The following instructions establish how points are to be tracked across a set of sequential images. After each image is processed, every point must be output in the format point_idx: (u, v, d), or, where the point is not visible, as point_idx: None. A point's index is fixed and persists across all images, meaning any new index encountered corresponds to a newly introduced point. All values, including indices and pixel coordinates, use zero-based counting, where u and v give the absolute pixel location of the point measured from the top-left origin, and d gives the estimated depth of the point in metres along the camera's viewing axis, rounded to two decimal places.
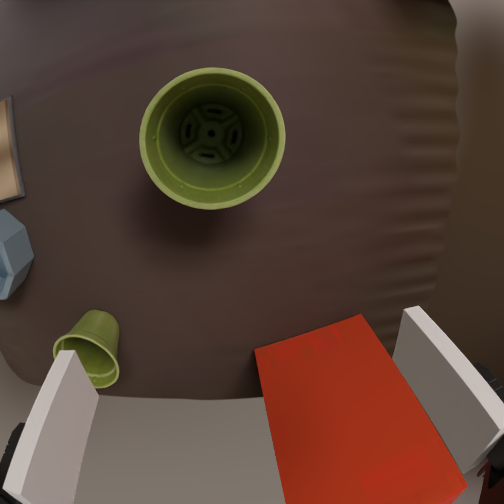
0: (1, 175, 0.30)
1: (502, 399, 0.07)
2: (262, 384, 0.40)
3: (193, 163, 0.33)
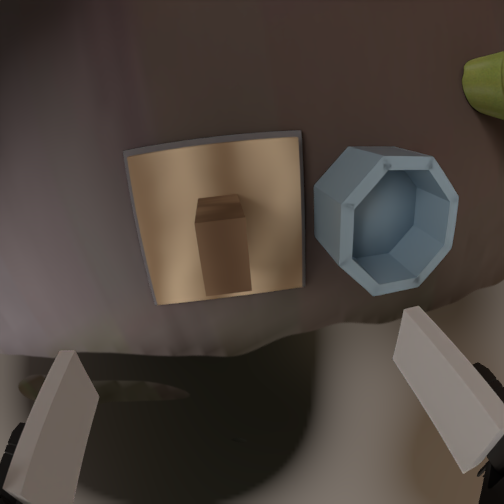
0: (258, 170, 0.23)
1: (502, 399, 0.07)
2: None
3: None
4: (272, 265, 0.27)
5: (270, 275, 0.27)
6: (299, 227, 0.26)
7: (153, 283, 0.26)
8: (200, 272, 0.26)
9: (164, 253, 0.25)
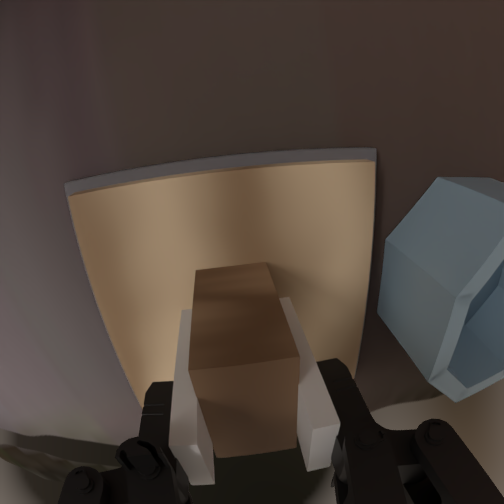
0: (306, 219, 0.13)
1: (349, 400, 0.08)
2: None
3: None
4: None
5: None
6: (362, 308, 0.15)
7: (133, 386, 0.16)
8: None
9: (144, 350, 0.15)
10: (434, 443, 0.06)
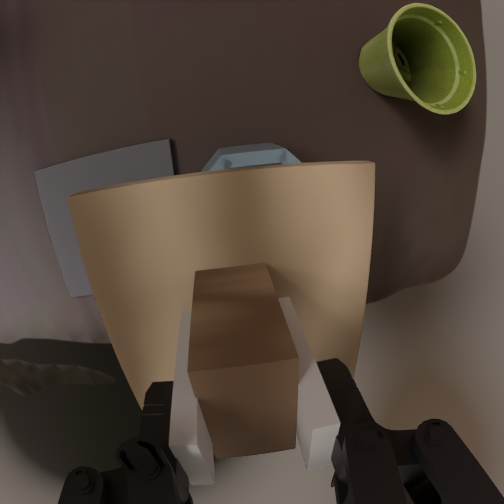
0: (305, 221, 0.13)
1: (349, 400, 0.08)
2: None
3: None
4: None
5: None
6: (361, 309, 0.15)
7: (133, 386, 0.16)
8: None
9: (144, 350, 0.15)
10: (434, 443, 0.06)
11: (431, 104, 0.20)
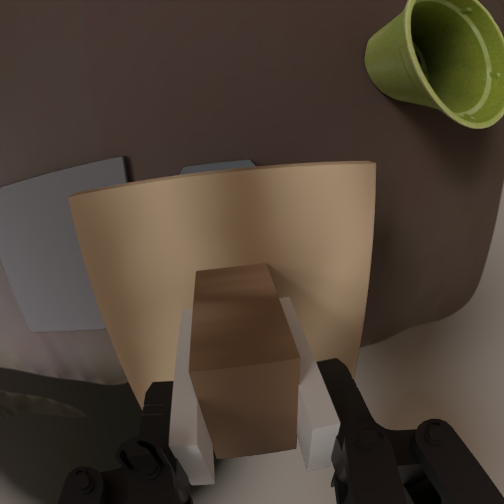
0: (306, 221, 0.13)
1: (348, 400, 0.08)
2: None
3: None
4: None
5: None
6: (362, 309, 0.15)
7: (133, 386, 0.16)
8: None
9: (144, 351, 0.15)
10: (433, 443, 0.06)
11: (458, 114, 0.15)
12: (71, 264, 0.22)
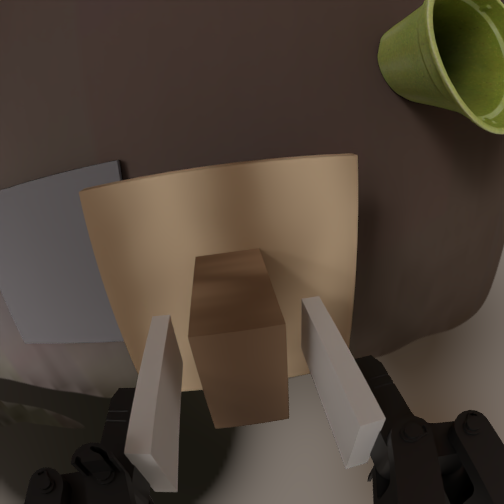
0: (294, 209, 0.14)
1: (387, 396, 0.08)
2: None
3: None
4: None
5: None
6: (351, 292, 0.17)
7: (138, 370, 0.17)
8: None
9: None
10: (471, 432, 0.06)
11: (479, 118, 0.13)
12: (64, 275, 0.21)
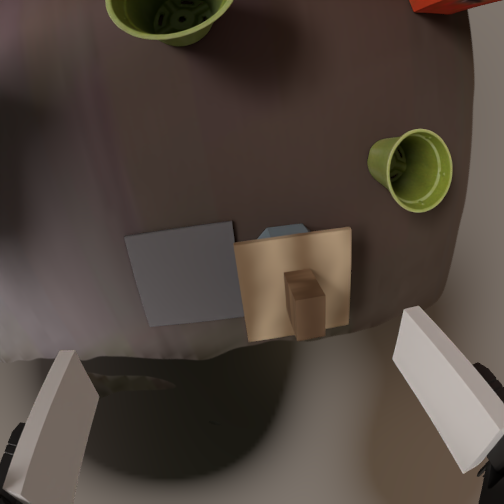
0: (324, 252, 0.34)
1: (502, 399, 0.07)
2: None
3: (209, 27, 0.28)
4: (329, 311, 0.38)
5: (328, 318, 0.38)
6: (349, 286, 0.37)
7: (247, 328, 0.37)
8: (281, 319, 0.37)
9: (257, 308, 0.36)
10: None
11: (415, 201, 0.33)
12: (192, 281, 0.41)
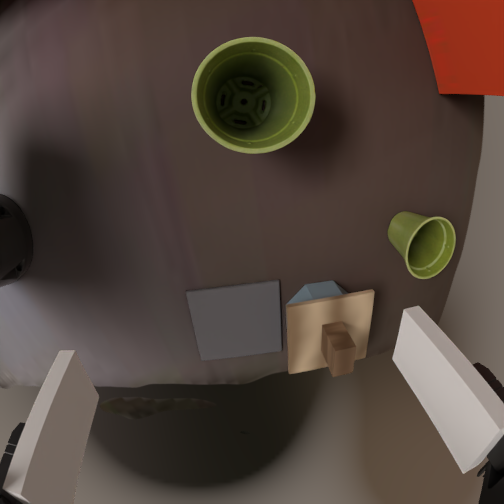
0: (353, 309, 0.43)
1: (502, 399, 0.07)
2: (470, 93, 0.31)
3: (271, 117, 0.36)
4: None
5: None
6: (368, 331, 0.46)
7: (290, 364, 0.46)
8: (316, 357, 0.46)
9: (299, 350, 0.45)
10: None
11: (423, 268, 0.42)
12: (242, 326, 0.50)
